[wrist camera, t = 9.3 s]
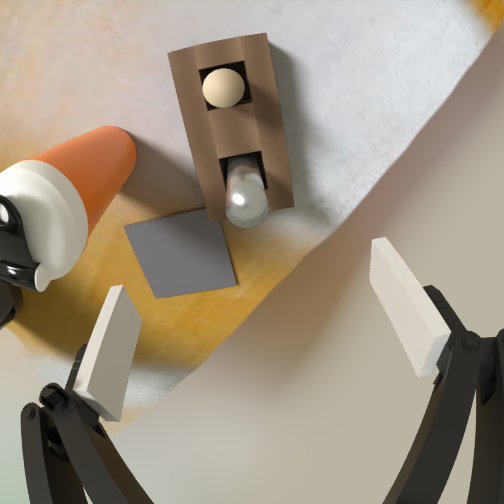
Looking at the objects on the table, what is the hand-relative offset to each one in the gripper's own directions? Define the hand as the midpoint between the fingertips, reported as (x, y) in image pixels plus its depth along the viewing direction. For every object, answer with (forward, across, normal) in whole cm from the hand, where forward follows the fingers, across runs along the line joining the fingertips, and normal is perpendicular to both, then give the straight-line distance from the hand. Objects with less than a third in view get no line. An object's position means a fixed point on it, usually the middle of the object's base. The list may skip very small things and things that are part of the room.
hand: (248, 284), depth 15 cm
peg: (+21, 0, 0) cm, 21 cm away
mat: (+21, -10, -11) cm, 25 cm away
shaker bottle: (+21, -14, +5) cm, 26 cm away
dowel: (+21, 0, +9) cm, 23 cm away
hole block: (+21, 0, +4) cm, 21 cm away
